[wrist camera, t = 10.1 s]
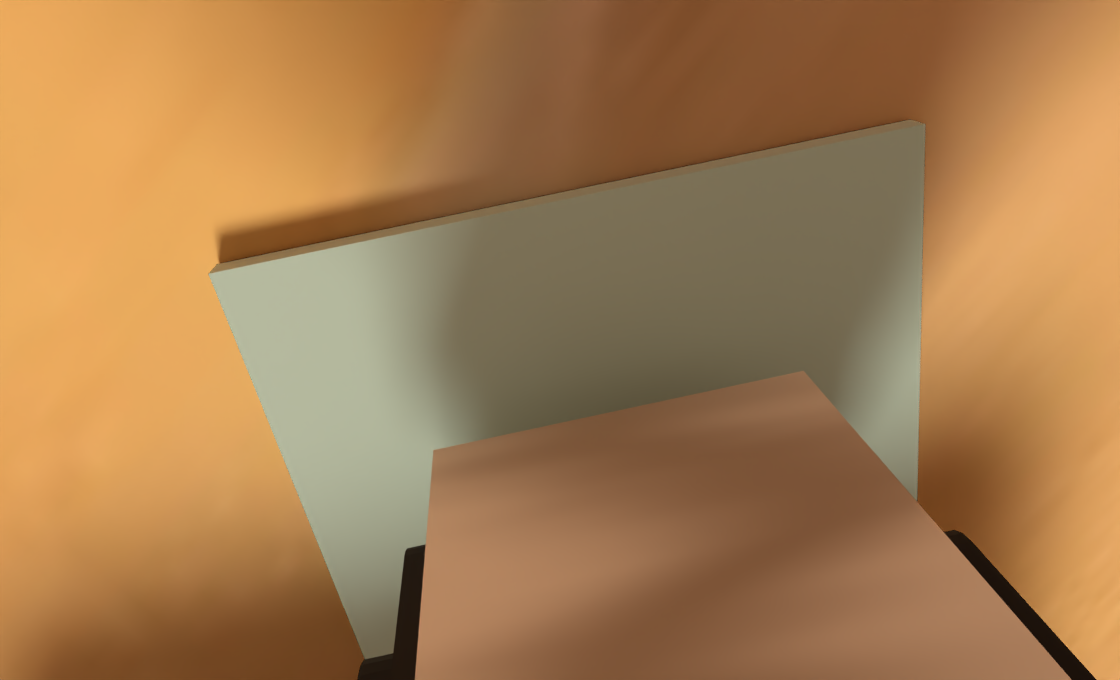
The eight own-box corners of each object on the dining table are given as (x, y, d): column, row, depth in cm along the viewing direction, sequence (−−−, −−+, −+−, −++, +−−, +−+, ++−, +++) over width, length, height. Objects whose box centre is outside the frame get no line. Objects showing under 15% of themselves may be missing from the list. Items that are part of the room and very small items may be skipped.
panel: (910, 119, 11) (925, 124, 11) (903, 629, 15) (914, 645, 15) (217, 264, 11) (208, 274, 10) (406, 739, 15) (404, 758, 15)
